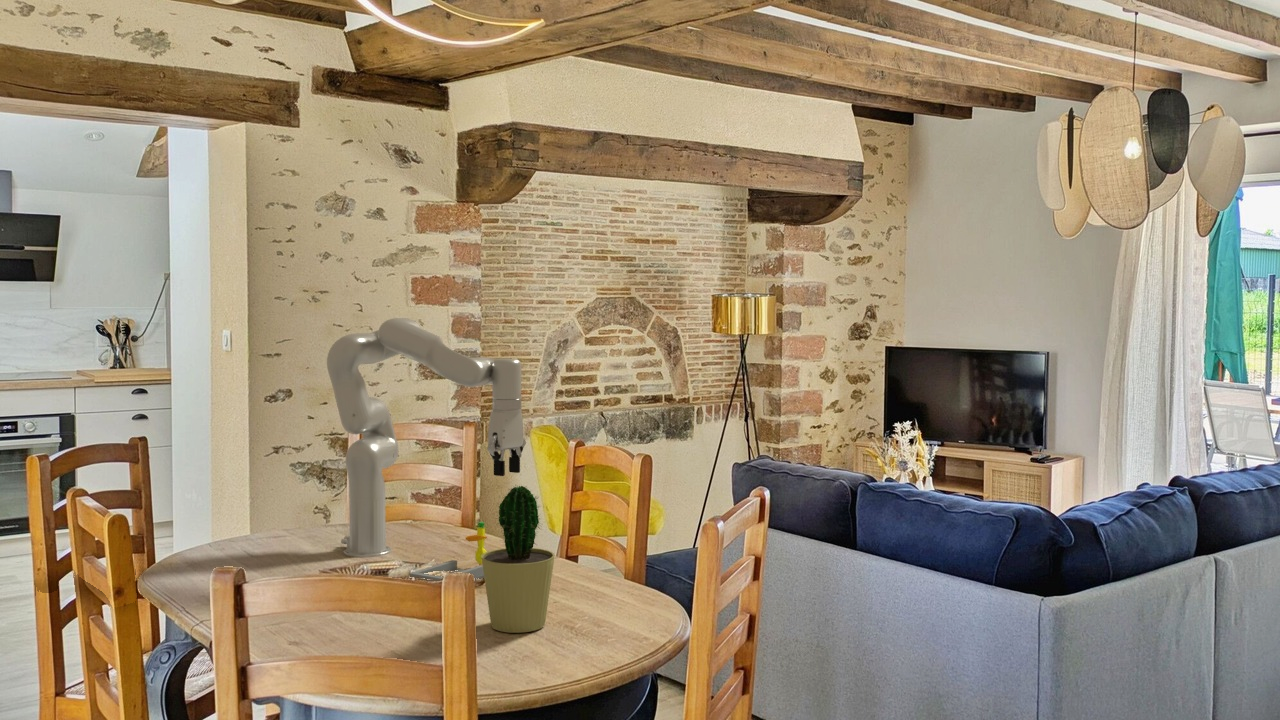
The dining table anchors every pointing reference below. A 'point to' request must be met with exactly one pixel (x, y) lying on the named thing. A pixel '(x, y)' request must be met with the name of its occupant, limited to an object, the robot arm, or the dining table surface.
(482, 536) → the toy figure
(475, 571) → the u rest
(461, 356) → the robot arm
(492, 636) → the dining table surface
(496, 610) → the potted cactus
